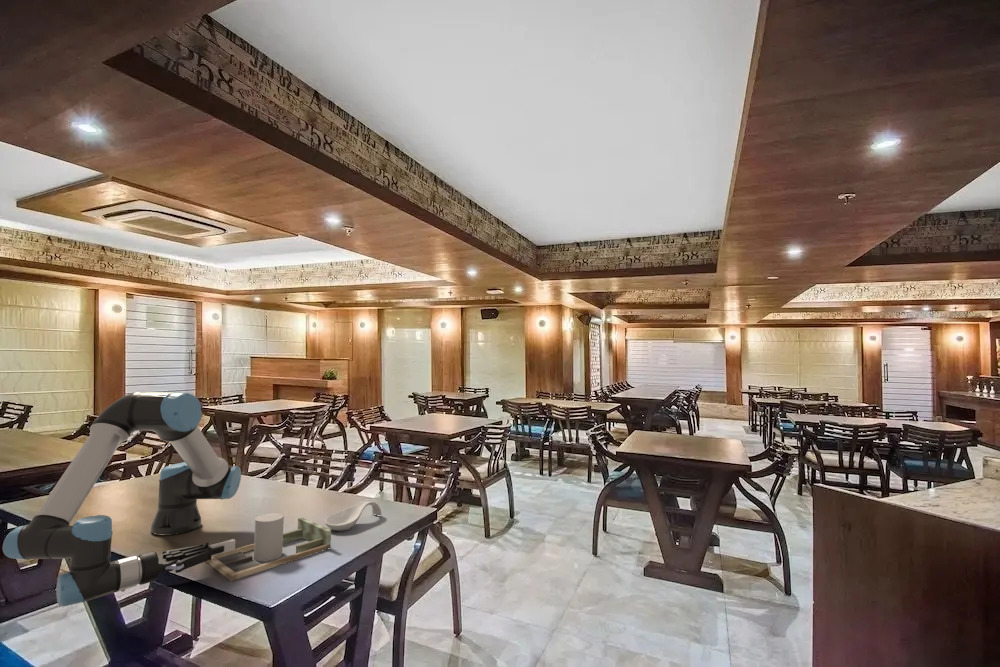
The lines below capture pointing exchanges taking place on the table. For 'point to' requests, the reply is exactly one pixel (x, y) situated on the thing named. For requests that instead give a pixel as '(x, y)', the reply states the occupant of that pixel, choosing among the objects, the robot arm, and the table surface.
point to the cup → (268, 536)
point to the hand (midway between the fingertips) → (234, 544)
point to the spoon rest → (350, 516)
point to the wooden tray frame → (242, 565)
